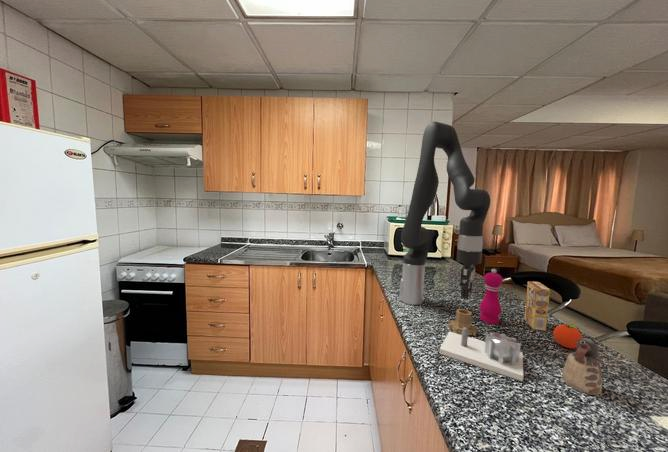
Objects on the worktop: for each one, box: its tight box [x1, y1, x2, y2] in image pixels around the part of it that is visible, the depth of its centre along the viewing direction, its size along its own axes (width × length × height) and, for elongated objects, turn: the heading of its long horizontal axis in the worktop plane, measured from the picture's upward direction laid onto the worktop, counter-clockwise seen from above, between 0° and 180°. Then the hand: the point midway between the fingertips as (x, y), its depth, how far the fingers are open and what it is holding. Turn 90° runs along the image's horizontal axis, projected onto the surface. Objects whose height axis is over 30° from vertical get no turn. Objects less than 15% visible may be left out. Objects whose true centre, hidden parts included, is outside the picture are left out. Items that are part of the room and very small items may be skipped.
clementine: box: [553, 324, 583, 349], centre depth 84 cm, size 8×7×7 cm
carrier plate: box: [439, 327, 524, 382], centre depth 78 cm, size 20×13×7 cm, turn 56°
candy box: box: [524, 280, 551, 332], centre depth 98 cm, size 9×4×15 cm, turn 162°
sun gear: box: [485, 331, 522, 366], centre depth 75 cm, size 8×8×5 cm
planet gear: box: [447, 308, 478, 337], centre depth 93 cm, size 9×9×6 cm
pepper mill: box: [479, 268, 503, 325], centre depth 101 cm, size 7×7×20 cm
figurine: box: [562, 337, 603, 396], centre depth 66 cm, size 7×7×12 cm
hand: (466, 295), depth 92 cm, fingers open, 8 cm apart
